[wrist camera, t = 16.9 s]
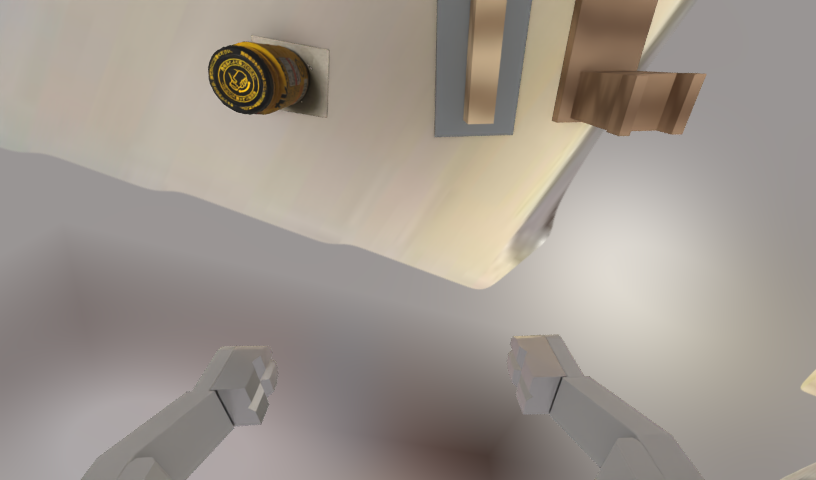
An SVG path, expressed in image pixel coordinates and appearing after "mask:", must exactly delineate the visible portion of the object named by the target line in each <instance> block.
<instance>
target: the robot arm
mask: <svg viewBox="0 0 816 480" xmlns="http://www.w3.org/2000/svg"><path fill="white" fill-rule="evenodd" d="M510 345H511V348H512V350H511V351H510V352H509V353H508V358H507V367H508V372H509V376H510V379H511V382H512V383H513V384H514V385H515V386H516V387H517V392H516V396H517V399H518V402H519V405H520V408H521V410H522V413H523V414H550V417H551V418H552V419H553V420H554V421H555V422H556V423H557V424H558V425H559V426H560V427H561V428H562V429H563V430H564V431H565V432H566V433H567V434H568V435H569V436H570V437H571V438H572V439H573V440H574V441H575V443H577V445H578V446H579V447H580V448H581V449H582V450H583V451H584V452H585V453H586V454H587V455H588V456H589V457H590V458H591V459H592V460H593V461H594V462H595V463H596V464H597V465H598V466H599V467H600V468H601V469H600V471H599V472H598V474H597V476H596V478H595V479H594V480H704V478H703V477H702V476H701V474H700V473H699V471H698V470H697V469H696V467H695V466H694V465H693V463H692V462H691V461H690V459H689V458H688V457H687V455H686V454H685V452H684V451H683V450H682V448H681V447H680V445H679V444H678V443H677V441H676V440H675V439H674V437H673V436H672V435H671V434H670V433H668V432H667V431H666V430H664V429H663V428H661V427H660V426H659V425H657V424H656V423H654V422H653V421H652V420H650V419H648V418H647V417H646V416H644V415H643V414H642V413H640V412H638V411H637V410H636V409H635V408H633V407H632V406H630V405H629V404H627V403H626V402H625V401H623V400H622V399H621V398H619V397H618V396H616V395H615V394H613V393H612V392H611V391H609V390H608V389H606V388H605V387H604V386H602V385H601V384H599V383H598V382H596V381H595V380H594V379H592V378H591V377H590V376H584V375H583V373H582V371H581V369H580V368H579V367H578V365H577V363H576V361H575V360H574V358H573V356H572V355H571V353H570V351H569V350H568V348H567V346H566V345H565V343H564V341H563V340H562V338H561V337H560V336H559V335H531V336H513V337H512V339H511V342H510ZM272 354H273V352H272V350H271V347H270V346H223V347H221V348H220V349H219V350H218V351H217V352H216V354H215V355H214V357H213V359H212V360H211V362H210V363H209V365H208V367H207V368H206V370H205V371H204V373H203V374H202V376H201V378H200V379H199V381H198V382H197V384H196V386H195V387H194V389H193V390H192V391H191V392H190V391H189V392H186V393H185V394H183V395H182V396H181V397H179V398H178V399H176V400H175V401H174V402H172V403H171V404H170V405H168V406H167V407H166V408H164V409H163V410H162V411H160V412H159V413H158V414H156V415H155V416H153V417H152V418H151V419H149V420H148V421H147V422H145V423H144V424H142V425H141V426H140V427H138V428H137V429H136V430H134V431H133V432H132V433H130V434H129V435H128V436H126V437H125V438H123V439H122V440H121V441H119V442H118V443H117V444H115V445H114V446H113V447H112V448H110V449H109V450H107V451H106V452H104V453H103V454H102V455H100V456H99V457H98V458H97V459H96V460H95V462H94V463H93V464H92V466H91V467H90V468H89V469H88V471H87V472H86V473H85V475H84V476H83V477H82V479H81V480H186V479H187V478H188V477H189V476H190V475H191V474H192V473H193V472H194V470H196V469H197V467H198V466H199V465H200V464H201V463H202V462H203V461H204V460H205V459H206V458H207V457H208V456H209V454H210V453H211V452H212V451H213V450H214V449H215V448H216V447H217V446H218V445H219V444H220V443H221V442H222V440H224V438H225V437H226V436H227V435H228V434H229V433H230V432H231V431H232V430H233V429H234V426H247V425H261V424H262V421H263V419H264V416H265V414H266V411H267V408H268V406H269V403H268V400H267V397H268V396H269V395H270V394H271V393H273V392H274V390H275V387H276V384H277V379H278V367H277V363H276V362H275V361H274V360H273V359H271V356H272Z"/></svg>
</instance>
